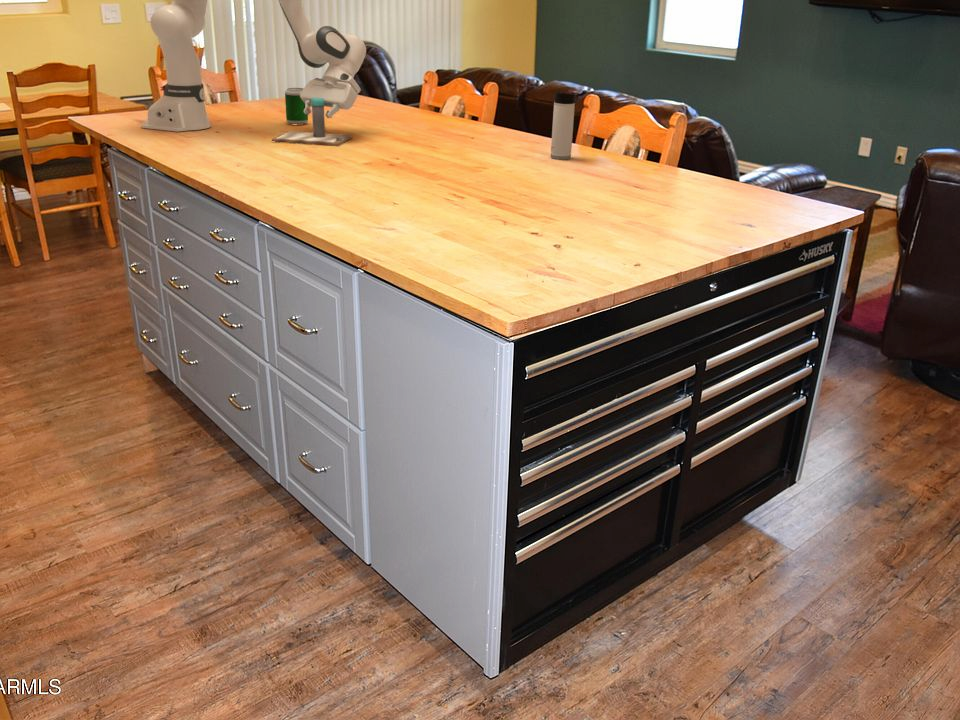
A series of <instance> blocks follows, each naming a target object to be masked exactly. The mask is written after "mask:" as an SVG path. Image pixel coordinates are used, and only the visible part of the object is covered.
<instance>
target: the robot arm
mask: <svg viewBox="0 0 960 720" xmlns="http://www.w3.org/2000/svg"><path fill="white" fill-rule="evenodd" d="M302 2H303V1H302V0H278V3H279V6H280V8H281V10H282V12H283V15H284V17H285V19H286V21H287V24H288V25H289V27H290V30H291V32H292V34H293V36H294V38H295V40H296V44H297V48H298V53H299V55H300V59H301V60H302V61H303V62H304V64H306V66H307V67H308V66H309V67H310V68H315V69H319V68H323V67H324V66H325V65H326V64H327V63H328V65H327V69H326V70H325V72H324V74H323V75H322V77H321V78H318V77H314V79H311V80H309V81H308V82H307V83H306V85H305V86H304V87H303V88H304V89H303V90H302V92H301V93H300V98H301V99H302V100H303V102H304V103H305V109H304V113H305V114H307V115H308V116H310V115H311V114H312V109H311V108H312V104H311V98H324V107H328V108H331V109H329V110H328V109H327V110H326V112H325V113H324V116H325V117H326V118H327V119H333V116H334V115H335V114H336V113H338V112H340V110H345V111H348V110H351V108H352V107H353V106H354V103H355V102H356V100H357V98H358V94H359V93H360V92H361V90H362V89H361V87H360V86H359V84H358V83H357V82H356V79H354V77H355V75H356V74H357V73H358V72H359V70H360V68H361V67H362V64H363V62H364V61H365V58H366V54H367V46H366V44H365V43H364V41H363V39H361V38H360V37H359V36H357V35H355V34H347V33H344V32H341V31H339V30H338V29H336V28H335V27H333V26H329V25H324V26H322V27H319V28H318V29H317V30H316V31H314V30H313V28H312V25H311V24H310V21H309V19H308V17H307V15H306V13H305V11H304V8H303V3H302ZM207 6H208V0H172V1H171V4H164V5H161V6H160V7H158V8H157V9H155V11H154V12H153V13H152V15H151V16H150V28H151V30H152V32H153V33H154V34H155V36H156V37H157V40H158V42H159V46H160V49H161V52H162V54H163V61H164V66H165V75H166V82H167V83H166V84H164V85H163V86H160V91H163V93H162V94H163V95H162V96H160V98H158V99H157V100H156V101H155V102H154V103H152V104H151V106H150V107H149V108H148V110H147V120H146V121H144V122H142V123H141V124H140V125H141V128H142V129H150V130H159V131H168V132H176V133H177V132H185V131H198V130H206V129H208V128H211V127H212V126H211V125H212V124H211V122H210V120H209V117H208V113H207V109H206V103H205V101H206V99H205V87H204V83H203V80H202V70H201V69H202V68H201V61H200V57H199V56H198V54H197V52H196V49H195V46H194V43H193V38H195V37H197V36H198V35H199V34H201V32H202V31H203V30H204V29H205V25H206V19H205V15H206V10H207Z"/></svg>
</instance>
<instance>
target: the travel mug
mask: <svg viewBox="0 0 960 720" xmlns="http://www.w3.org/2000/svg"><path fill="white" fill-rule="evenodd" d="M575 100H576V94H575V93H566V92H563V91H558V92H556V91H555V93H554V102H553V112H552V115H553V116H552V128H551V129H552V131H551V145H550V158H551V159H553V160H557V159H559V161H565V160H566V161H567V159H568V160H570V159H571V158H572V149H573V148H572V147H573V146H572V145H573V136H574V135H573V132H574V120H575V119H574V118H575V104H576V101H575Z"/></svg>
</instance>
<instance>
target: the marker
mask: <svg viewBox="0 0 960 720" xmlns="http://www.w3.org/2000/svg"><path fill="white" fill-rule="evenodd" d="M311 104H312V107H311V111H312V112H311V116H312V133H313V137H317V138H321V137H325V134H326V127H325V126H326V123H325V106H324V98H311Z"/></svg>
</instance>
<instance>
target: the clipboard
mask: <svg viewBox="0 0 960 720" xmlns="http://www.w3.org/2000/svg"><path fill="white" fill-rule="evenodd" d="M351 138H352V134H347V133H346V134H345V133H344V134H343V133H342V134H339V133H338V134H337V133H325V137H321V138H317V137H313V132H307V131H305V132H304V131H293V130H292V131H290V130H289V131H285V132H283V133H282V134H279V135H277V136H275V137H274V138H271V142H272V141H275V142H274V143H280V142H289V143H288V144H296V143H304V144H303V145H312V144H315V145H314V146H316V145H317V146H331V147H332V146H333V147H340V146H341V145H343V144H345V142H347V141H348V140H351Z"/></svg>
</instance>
